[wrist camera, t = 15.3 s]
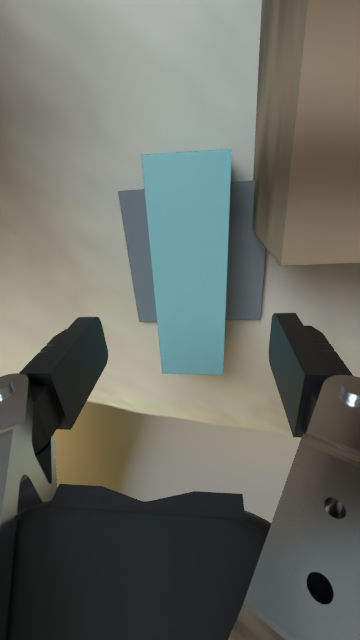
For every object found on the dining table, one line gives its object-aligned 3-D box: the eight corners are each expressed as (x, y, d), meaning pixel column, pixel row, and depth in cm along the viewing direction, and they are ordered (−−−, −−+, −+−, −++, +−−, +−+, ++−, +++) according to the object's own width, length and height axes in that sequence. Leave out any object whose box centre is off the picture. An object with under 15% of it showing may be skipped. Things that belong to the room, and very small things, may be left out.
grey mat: (120, 191, 19) (118, 191, 18) (268, 179, 18) (270, 179, 17) (140, 318, 23) (139, 321, 23) (259, 316, 22) (260, 319, 22)
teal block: (155, 159, 17) (141, 154, 14) (226, 154, 17) (231, 149, 13) (169, 344, 24) (162, 373, 20) (220, 344, 23) (222, 375, 20)
